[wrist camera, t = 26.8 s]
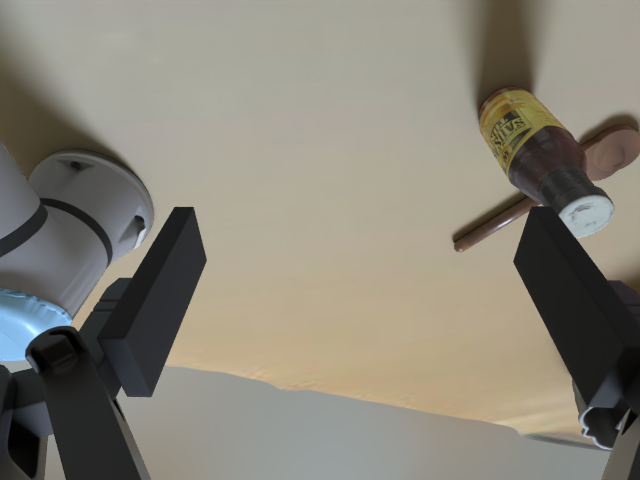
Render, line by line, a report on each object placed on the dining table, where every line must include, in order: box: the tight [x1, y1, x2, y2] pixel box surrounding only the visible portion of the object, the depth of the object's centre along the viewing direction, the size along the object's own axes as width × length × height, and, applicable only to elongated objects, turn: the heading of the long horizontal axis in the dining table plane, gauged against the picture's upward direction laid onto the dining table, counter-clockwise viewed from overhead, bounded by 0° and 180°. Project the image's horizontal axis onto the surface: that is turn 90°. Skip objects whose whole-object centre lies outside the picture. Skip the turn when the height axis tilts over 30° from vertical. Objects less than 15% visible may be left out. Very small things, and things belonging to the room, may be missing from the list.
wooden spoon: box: [454, 125, 640, 252], centre depth 52 cm, size 24×5×2 cm, turn 135°
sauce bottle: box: [479, 87, 614, 238], centre depth 38 cm, size 6×6×20 cm
